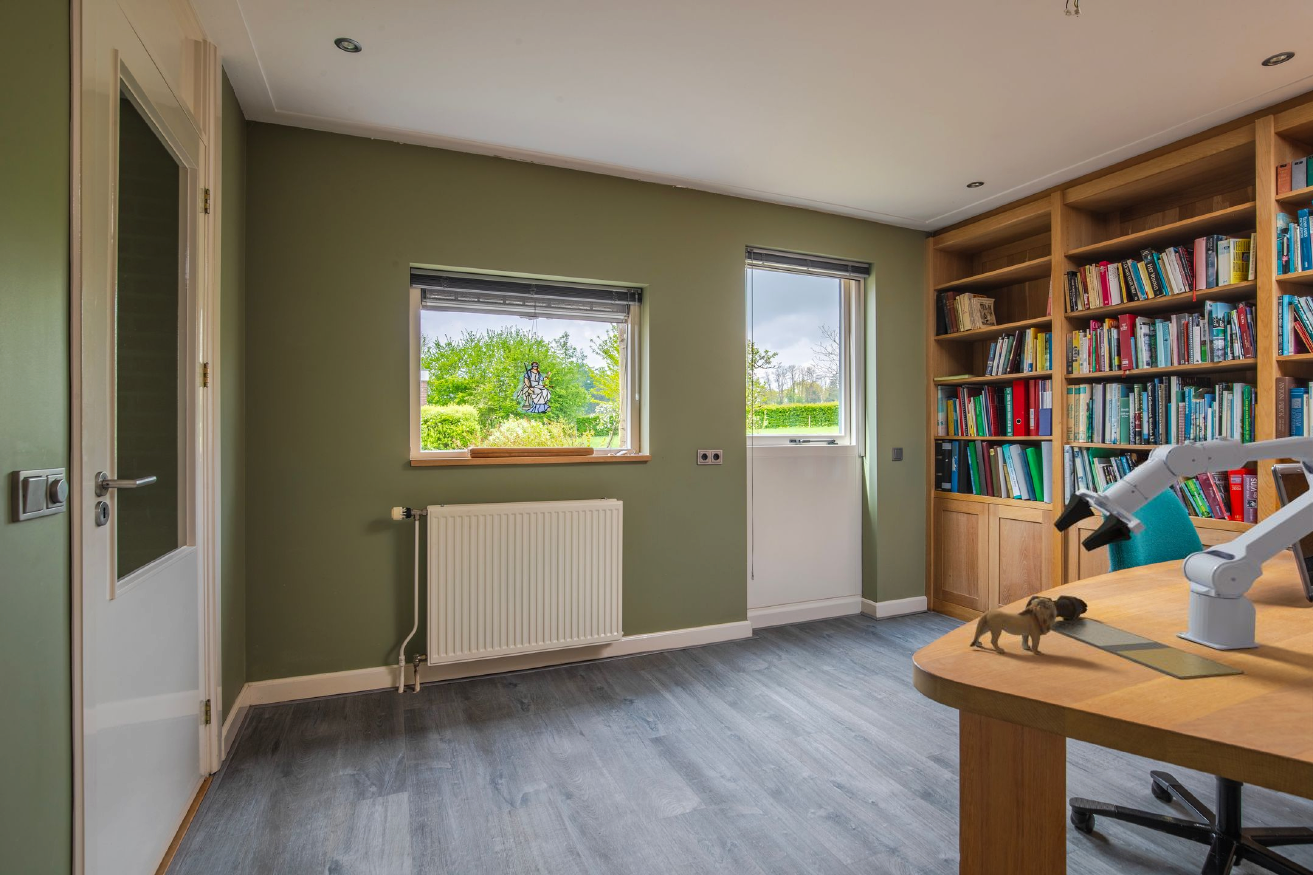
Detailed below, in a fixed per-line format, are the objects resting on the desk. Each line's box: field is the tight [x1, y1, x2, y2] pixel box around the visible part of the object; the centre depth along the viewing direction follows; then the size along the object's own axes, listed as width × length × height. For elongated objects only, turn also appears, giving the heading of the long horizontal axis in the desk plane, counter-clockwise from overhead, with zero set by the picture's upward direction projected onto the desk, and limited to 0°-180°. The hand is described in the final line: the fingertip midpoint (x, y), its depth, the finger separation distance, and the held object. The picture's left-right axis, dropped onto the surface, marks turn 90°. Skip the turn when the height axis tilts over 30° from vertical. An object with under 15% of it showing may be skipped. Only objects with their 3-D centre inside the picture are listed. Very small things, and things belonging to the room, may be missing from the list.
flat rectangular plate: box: [1050, 618, 1245, 680], centre depth 115 cm, size 13×28×1 cm, turn 13°
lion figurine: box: [968, 598, 1057, 656], centre depth 111 cm, size 15×5×9 cm, turn 92°
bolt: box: [1024, 595, 1088, 620], centre depth 129 cm, size 6×5×15 cm
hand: (1070, 537), depth 122 cm, fingers open, 7 cm apart
